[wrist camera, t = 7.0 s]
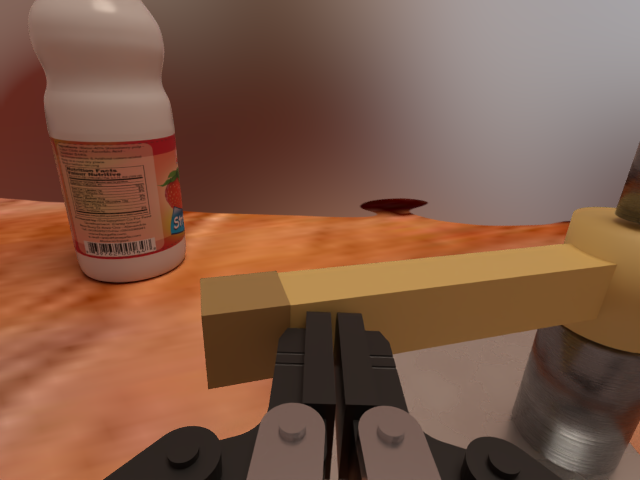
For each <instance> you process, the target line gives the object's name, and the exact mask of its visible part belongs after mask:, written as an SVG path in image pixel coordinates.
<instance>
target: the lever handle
mask: <svg viewBox="0 0 640 480" xmlns="http://www.w3.org/2000/svg"><path fill="white" fill-rule="evenodd" d="M615 211H616V208H608V207H587V208H580V209H577V210H576V211H574V212H573V215H572V218H571V222H570V225H569V228H568V231H567V234H566V238H565V241H564V244H559V245H549V246H540V247H530V248H520V249H510V250H500V251H490V252H480V253H470V254H460V255H451V256H441V257H431V258H421V259H411V260H401V261H391V262H381V263H371V264H362V265H352V266H342V267H332V268H322V269H312V270H302V271H292V272H282V273H277V271H272V272H262V273H252V274H242V275H231V276H221V277H211V278H201V279H200V286H201V316H202V327H203V338H204V348H205V359H206V370H207V380H208V389H212V388H218V387H224V386H229V385H235V384H241V383H246V382H252V381H258V380H263V379H269V378H273V375H274V368H275V362H276V355H277V348H278V341H279V338H280V337H281V335H282V334H283V333H284V332H285V331H286V329H287V328H306V312H307V311H313V312H331V324H332V341H333V352H334V339H335V326H336V315H337V312H341V313H361V314H362V317H363V322H364V328H365V331H380V332H381V334H382V335H383V336H384V337H385V338H386V339H387V340H388V341H389V343H390V346H391V350H392V354H398V353H403V352H409V351H415V350H421V349H426V348H432V347H438V346H444V345H449V344H455V343H461V342H466V341H472V340H478V339H484V338H489V337H495V336H501V335H507V334H512V333H518V332H524V331H529V330H535V329H541V328H547V327H552V326H558V325H564V326H565V327H567V328H568V329H570V330H571V331H573V332H575V333H577V334H579V335H581V336H583V337H585V338H587V339H589V340H592V341H594V342H597V343H599V344H602V345H605V346H608V347H611V348H615V349H619V350H623V351H627V352H633V353H640V224H638V223H634V222H630V221H627V220H624V219H622V218H620V217H618V216H616V215H615Z"/></svg>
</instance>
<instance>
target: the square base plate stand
mask: <svg viewBox="0 0 640 480" xmlns="http://www.w3.org/2000/svg"><path fill="white" fill-rule="evenodd" d="M615 215H616V216H618V217H620V218H622V219H624V220H627V221H630V222H634V223H638V224H640V143H639V146H638V149H637V151H636V154H635V157H634V160H633V163H632V166H631V169H630V171H629V174H628V177H627V180H626V183H625V185H624V188H623V191H622V194H621V197H620V200H619V203H618V205H617V208H616V211H615ZM393 358H394V361H395V364H396V369H397V372H398V375H399V379H400V383H401V386H402V390H403V394H404V397H405V401H406V405H407V408H408V412H409V414H410V415H411V416H413V417H414V418H415V419H416V420H417V421H418V423H419V424H420V426H421V428H422V430H423V432H425V433H426V434H428V435H429V436H431V437H433V438H435V439H437V440H439V441H442V442H445V443H448V444H451V445H455V446H458V447H461V448H464V449H467V447H468V445H469V444H470V442H471V441H473V440H474V439H476V438H479V437H496V438H500V439H503V440H506V441H508V442H510V443H512V444H514V445H516V446H517V447H519V448H520V449H522V450H523V451H524V452H526V453H527V454H529V455H530V456H531V457H533V458H534V459H535V460H537V461H538V462H540V463H541V464H542V465H544V466H545V467H546V468H548V469H549V470H551V471H552V472H553V473H555V474H556V475H557V476H559V477H560V478H562V479H563V480H640V455H639V454H638V453H637V451H636V450H635V449H634V448H633V446H632V445H631V444H630V443H629V442H630V440H631V438H632V435H633V433H634V431H635V429H636V427H637V425H638V423H639V421H640V353H633V352H627V351H623V350H619V349H615V348H611V347H608V346H605V345H602V344H599V343H597V342H594V341H592V340H589V339H587V338H585V337H583V336H581V335H579V334H577V333H575V332H573V331H571V330H570V329H568V328H567V327H565V326H564V325H558V326H552V327H547V328H541V329H535V330H529V331H524V332H518V333H512V334H507V335H501V336H495V337H489V338H484V339H478V340H472V341H466V342H461V343H455V344H449V345H444V346H438V347H432V348H426V349H421V350H415V351H409V352H403V353H398V354H393ZM330 480H338V464H337V445H336V426H335V424H334V436H333V448H332V460H331V472H330Z"/></svg>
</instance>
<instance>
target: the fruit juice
mask: <svg viewBox="0 0 640 480" xmlns="http://www.w3.org/2000/svg"><path fill="white" fill-rule="evenodd" d="M28 27H29V34H30V40H31V43H32V46H33V48H34V51H35V53H36V55H37V57H38V59H39V61H40V63H41V64H42V67H43V68H44V71H45V74H46V78H47V88H46V92H45V96H44V107H45V116H46V122H47V127H48V132H49V136H50V140H51V144H52V148H53V153H54V157H55V162H56V166H57V171H58V175H59V180H60V184H61V189H62V193H63V198H64V202H65V207H66V211H67V215H68V220H69V224H70V229H71V233H72V238H73V242H74V247H75V251H76V255H77V260H78V262H79V265H80V267H81V269H82V271H83V272H84V273H85V274H86V275H87V276H89V277H90V278H93V279H96V280H99V281H105V282H132V281H139V280H144V279H149V278H152V277H156V276H159V275H161V274H164V273H166V272H168V271H170V270H172V269H174V268H175V267H177V266H178V265H179V264H180V263H181V262H182V261H183V259H184V257H185V253H186V239H185V230H184V220H183V210H182V201H181V191H180V182H179V172H178V162H177V152H176V144H175V130H174V122H173V116H172V110H171V105H170V102H169V99H168V97H167V95H166V93H165V91H164V89H163V86H162V81H161V73H162V66H163V60H164V45H163V39H162V35H161V31H160V28H159V26H158V24H157V22H156V21H155V19H154V18H153V16H152V15H151V13H150V12H149V11H148V9H147V8H146V7H145V5H144V4H143V3H142V1H141V0H35V2H34V3H33V5H32V7H31V10H30V13H29V17H28Z"/></svg>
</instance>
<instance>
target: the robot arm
mask: <svg viewBox="0 0 640 480" xmlns="http://www.w3.org/2000/svg"><path fill="white" fill-rule="evenodd" d="M334 424H335V426H336V445H337V464H338V480H563V479H562V478H560V477H559V476H557V475H556V474H555V473H553V472H552V471H551V470H549V469H548V468H546V467H545V466H544V465H542V464H541V463H540V462H538V461H537V460H535V459H534V458H533V457H531V456H530V455H529V454H527V453H526V452H524V451H523V450H522V449H520V448H519V447H517V446H516V445H514V444H512V443H510V442H508V441H506V440H503V439H500V438H496V437H479V438H476V439H474V440H473V441H471V442H470V444H469V445H468V447H467V449H464V448H461V447H458V446H455V445H451V444H448V443H445V442H442V441H439V440H437V439H435V438H433V437H431V436H429V435H428V434H426V433H425V432H423V430H422V428H421V426H420V424H419V423H418V421H417V420H416V419H415V418H414V417H413V416H411V415H410V414H409V412H408V408H407V405H406V401H405V397H404V394H403V390H402V386H401V383H400V379H399V375H398V372H397V369H396V364H395V361H394V358H393V354H392V350H391V346H390V343H389V341H388V340H387V339H386V338H385V337H384V336H383V335H382V334H381V332H380V331H365V328H364V322H363V317H362V314H361V313H341V312H337V315H336V326H335V339H334V352H333V341H332V324H331V312H313V311H307V312H306V328H287V329H286V331H285V332H284V333H283V334H282V335H281V337H280V338H279V341H278V348H277V355H276V362H275V368H274V375H273V382H272V389H271V395H270V402H269V408H268V412H267V413H266V415H265V416H264V417H263V419H262V420H261V422H260V423H259V424H258V425H257V426H256V427H255V428H253V429H252V430H250V431H248V432H246V433H244V434H241V435H238V436H235V437H231V438H227V439H223V440H219V439H218V438H217V436H216V435H215V434H214V433H213V432H212V431H210V430H208V429H206V428H203V427H199V426H187V427H182V428H179V429H176V430H173V431H171V432H169V433H168V434H166V435H164V436H163V437H162V438H160V439H159V440H157V441H156V442H155V443H153V444H152V445H150V446H149V447H148V448H146V449H145V450H144V451H142V452H141V453H139V454H138V455H137V456H135V457H134V458H132V459H131V460H130V461H128V462H127V463H126V464H124V465H123V466H121V467H120V468H119V469H117V470H116V471H115V472H113V473H112V474H110V475H109V476H108V477H106V478H105V479H103V480H330V472H331V460H332V448H333V436H334Z"/></svg>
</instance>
